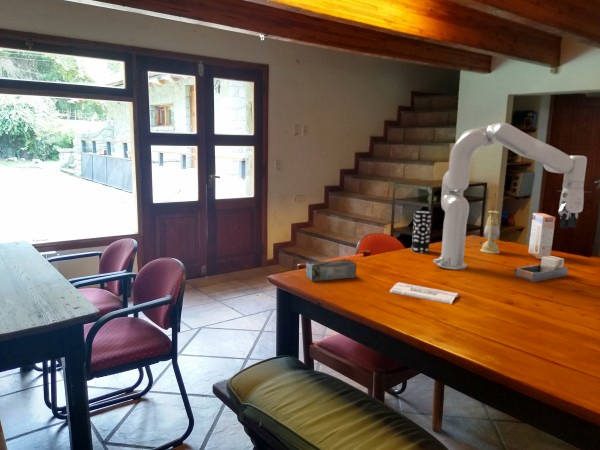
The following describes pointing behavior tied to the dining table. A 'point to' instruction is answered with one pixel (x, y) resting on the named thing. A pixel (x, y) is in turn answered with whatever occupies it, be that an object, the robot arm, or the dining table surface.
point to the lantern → (491, 233)
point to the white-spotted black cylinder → (421, 231)
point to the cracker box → (541, 235)
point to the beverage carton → (331, 270)
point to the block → (551, 263)
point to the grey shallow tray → (539, 273)
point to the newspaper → (423, 293)
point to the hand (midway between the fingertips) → (567, 227)
